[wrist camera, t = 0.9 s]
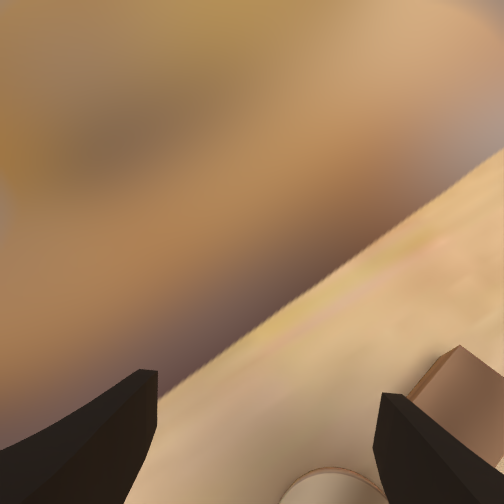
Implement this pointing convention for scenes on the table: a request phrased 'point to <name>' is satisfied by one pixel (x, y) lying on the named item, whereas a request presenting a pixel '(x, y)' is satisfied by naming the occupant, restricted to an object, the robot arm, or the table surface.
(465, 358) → the walnut cube
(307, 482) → the birch round
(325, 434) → the table surface
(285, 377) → the table surface
